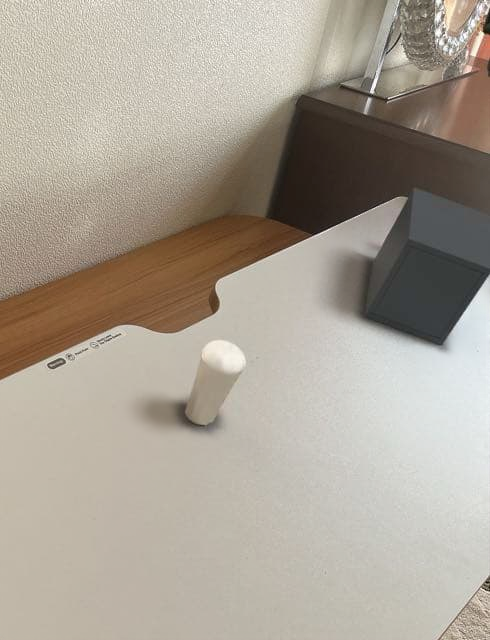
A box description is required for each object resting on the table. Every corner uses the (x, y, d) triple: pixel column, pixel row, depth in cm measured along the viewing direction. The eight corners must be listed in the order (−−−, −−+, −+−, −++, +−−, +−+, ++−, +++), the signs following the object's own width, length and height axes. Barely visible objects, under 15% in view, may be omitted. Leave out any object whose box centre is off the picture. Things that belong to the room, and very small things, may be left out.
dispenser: (372, 263, 123) (413, 186, 114) (444, 290, 122) (491, 215, 114) (364, 316, 114) (408, 238, 105) (441, 345, 114) (493, 269, 105)
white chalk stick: (214, 440, 93) (247, 368, 85) (171, 414, 94) (201, 341, 86) (232, 419, 96) (267, 347, 88) (190, 394, 97) (221, 321, 89)
